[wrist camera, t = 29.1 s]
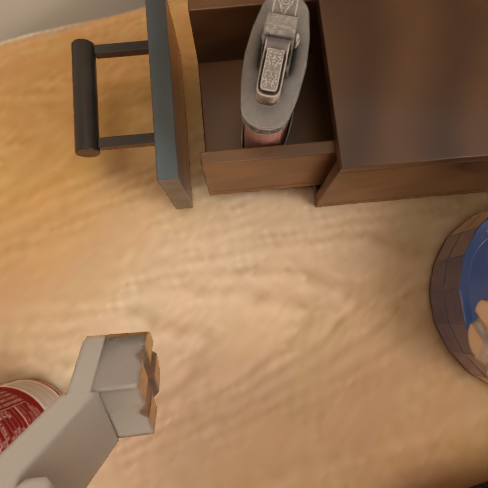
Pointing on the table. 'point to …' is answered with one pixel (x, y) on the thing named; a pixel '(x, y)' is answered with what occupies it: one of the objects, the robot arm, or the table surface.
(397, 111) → the cabinet
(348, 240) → the table surface
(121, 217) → the table surface
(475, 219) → the bowl
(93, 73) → the drawer
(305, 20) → the lighter
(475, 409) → the table surface
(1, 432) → the soda can
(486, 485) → the hardcover book
